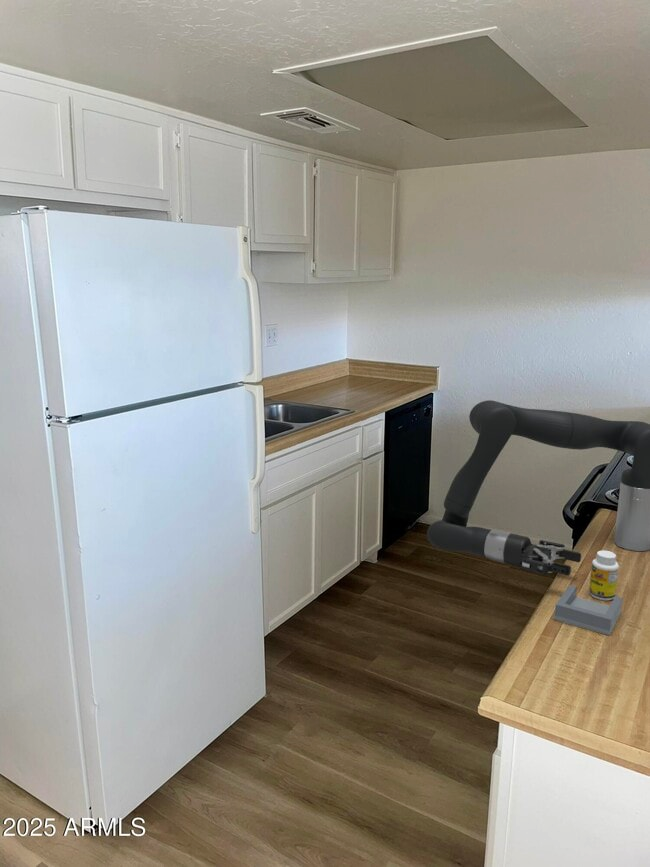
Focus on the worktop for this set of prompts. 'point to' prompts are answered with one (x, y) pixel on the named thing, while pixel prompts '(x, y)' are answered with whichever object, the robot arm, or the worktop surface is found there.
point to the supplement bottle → (604, 576)
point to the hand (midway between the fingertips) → (575, 564)
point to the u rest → (587, 612)
